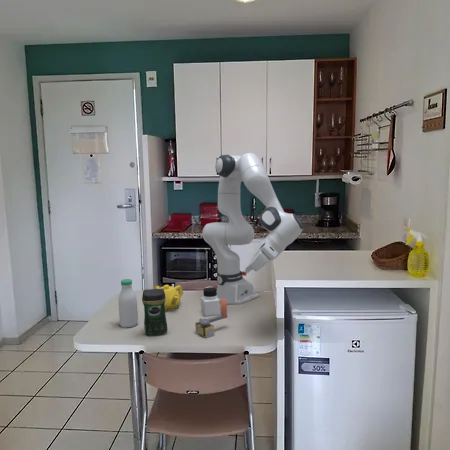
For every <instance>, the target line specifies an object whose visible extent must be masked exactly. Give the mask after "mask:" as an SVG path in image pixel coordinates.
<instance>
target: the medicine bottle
mask: <svg viewBox="0 0 450 450" xmlns="http://www.w3.org/2000/svg"><path fill="white" fill-rule="evenodd" d="M200 302H201V303H200V305H201V313H202V314H203V316H205V317H210V316H211V317H213V316H218V315H221V303H220V300H219V299H218V297H217V288H216V287H214V286H206V287H204V288H203V296H201V297H200Z"/></svg>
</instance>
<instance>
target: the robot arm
mask: <svg viewBox="0 0 450 450" xmlns="http://www.w3.org/2000/svg"><path fill="white" fill-rule="evenodd" d="M215 173H216V174H217V175H218V176H219V181H218V187H217V210H218V211H219V213H221V214H222V215H223V216H226V217H227V218H228V222H224V221H223V222H222V221H221V222H219V221H218V222H217V221H216V222H215V221H214V222H209V223H206V224H205V225H204V226H203V229H202V232H201V233H202V237H203V240H204V241H205V243H207V244H208V245H209V246H210V247H211V248H212V250H213V251H214V254H215V257H216V262H217V271H216V280H217V288H216V289H217V297H218V299H219V300H220V304H221V299H226V300H227V305H229V304H232V305H233V304H236V305H242V304H244V303H246V302H249V301H251V300H253V299H256V298H258V297H259V293H257V292H256V291H255V290H254V285H253V284H252V282H250V281H248V280H247V279H245V278H244V277H246V276H247V274H249V273H250V272H251V271H253V272H259V270H261V269H262V268H263V267H264V266H265V265H267V264H268V263H269V262H270V261H274V260H276V259H277V258H278V257H279V256H280V255H281V254H282V253H283V252H284V251H285V249H286V248H287V247H288V246H290V245H291V244H292V243H293V242H294V241H295V240H297V239H298V237H299V236H300V235H301V234H302V232H303V230H304V225H303V223H302V221H301V219H300V218H299V217H298V216H297V215H296V214H294V213H288V212H285V210H284V208H283V206H282V204H281V202H280V200H279V198H278V196H277V194H276V192H275V190H274V187H273V185H272V183H271V181H270V177H269V175H268V173H267V170H266V168H265V165H264V164H263V162H262V161H261V159H260V158H259V157H258V155H256V154H255V153H253V152H247V153H246V152H245V153H244V154H243V155H239V154H237V155H235V154H233V155H232V154H231V155H230V154H221V155H220V156H218V157H217V159H216V162H215ZM242 182H243V184H244V186H245V187H246V189H247V190H248V191H249V193H251V194H252V195H253V196H255V197H256V198H257V199H259V201H260V202H261V203H262V204H263V205H264V206H265V209H263V211H261V213H260V214H259V219H258V221H259V224H260V225H261V227H262V228H264V229H265V230H266V231H268V234H267V235H266V236H265V237H264V238H263V239H262V240H261V241H260V242H259V245H260V246H259V247H258V250H257V251H255V253H254V254H253V256H252V258H251V260H250V263H249V264H248V265H247V266H246V267H245V269H244V271H242V270H241V264H240V263H241V259H240V256H239V254H238V253H236V252H235V251H233V250H232V249H231V248H230V247H229V246H245V245H250V244H251V243H252V242H253V240H254V237H255V229H254V228H253V227H254V226H252V225H251V224H250V223H249V222H248V221H246V219H245V218H244V215H243V214H242V207H241V184H242Z"/></svg>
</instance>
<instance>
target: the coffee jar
mask: <svg viewBox="0 0 450 450" xmlns="http://www.w3.org/2000/svg"><path fill="white" fill-rule="evenodd" d="M160 288H161V287H160ZM165 300H166V296H165V292H164V289H163V288H161V289H155V288H151V289H143V290H142V296H141V301H142V305H143V311H144V313H143V314H144V316H143V317H144V320H143V332H144V334H145V335H146V336H148V337H149V336H162V335H165V334H167V333H168V331H169V330H168V322H167V317H166V316H167V315H166V311H165V305H164V304H165Z"/></svg>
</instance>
